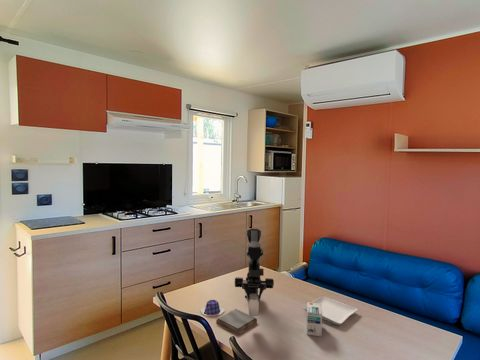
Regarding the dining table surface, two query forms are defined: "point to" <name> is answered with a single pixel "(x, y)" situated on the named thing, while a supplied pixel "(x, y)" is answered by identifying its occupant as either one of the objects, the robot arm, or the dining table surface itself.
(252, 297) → the beige grey cylinder
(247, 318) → the walnut stand
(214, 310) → the pudding
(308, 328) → the light bulb box
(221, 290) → the dining table surface
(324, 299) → the salad plate
